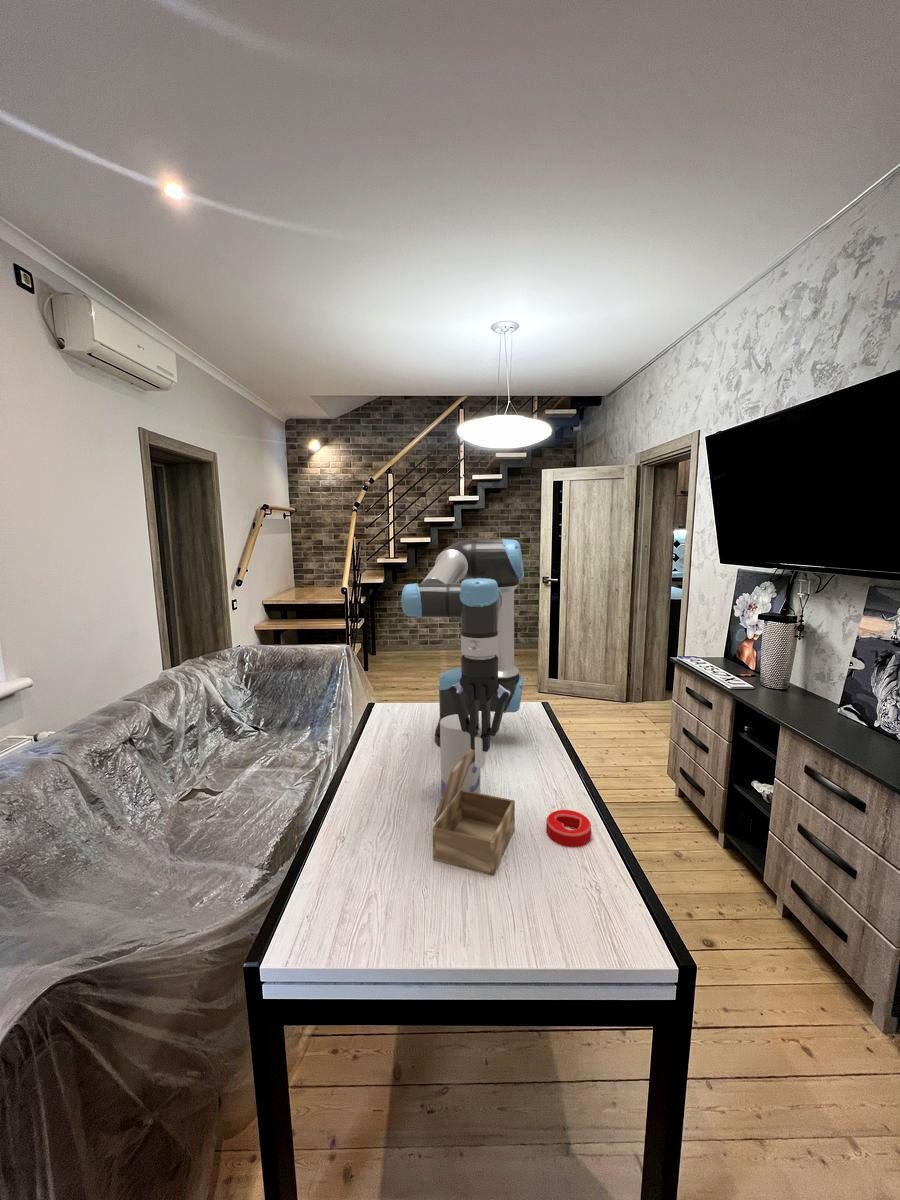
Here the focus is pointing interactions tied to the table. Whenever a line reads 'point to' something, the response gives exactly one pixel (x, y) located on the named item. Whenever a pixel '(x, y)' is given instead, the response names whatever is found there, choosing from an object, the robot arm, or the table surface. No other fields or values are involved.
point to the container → (456, 753)
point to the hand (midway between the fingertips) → (480, 764)
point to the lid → (454, 782)
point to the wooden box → (474, 831)
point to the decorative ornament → (563, 835)
